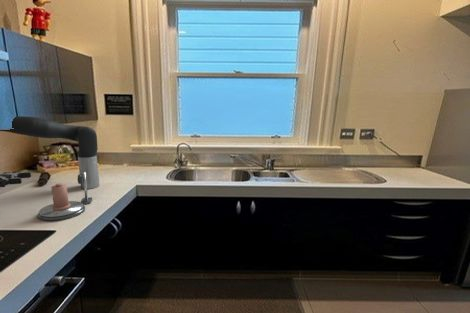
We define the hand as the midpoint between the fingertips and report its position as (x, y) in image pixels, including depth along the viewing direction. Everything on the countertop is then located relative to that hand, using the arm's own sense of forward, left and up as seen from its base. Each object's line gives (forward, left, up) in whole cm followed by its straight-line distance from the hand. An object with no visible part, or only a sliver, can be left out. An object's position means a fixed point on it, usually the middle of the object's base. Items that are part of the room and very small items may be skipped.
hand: (26, 177), depth 112 cm
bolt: (-50, -13, -17) cm, 54 cm away
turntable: (+1, +12, -15) cm, 19 cm away
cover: (+1, +12, -14) cm, 18 cm away
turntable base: (+1, +12, -16) cm, 20 cm away
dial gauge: (-10, +19, -16) cm, 27 cm away
